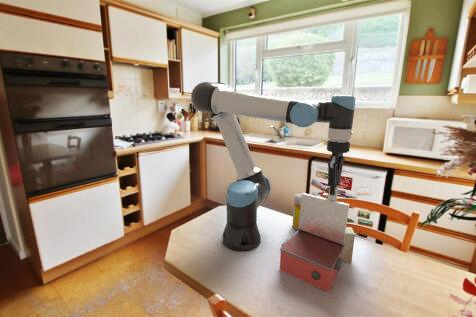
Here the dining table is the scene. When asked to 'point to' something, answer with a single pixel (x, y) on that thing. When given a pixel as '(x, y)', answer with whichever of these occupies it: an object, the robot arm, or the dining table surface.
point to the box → (348, 245)
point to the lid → (323, 218)
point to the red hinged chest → (311, 259)
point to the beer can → (297, 209)
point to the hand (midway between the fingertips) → (332, 201)
